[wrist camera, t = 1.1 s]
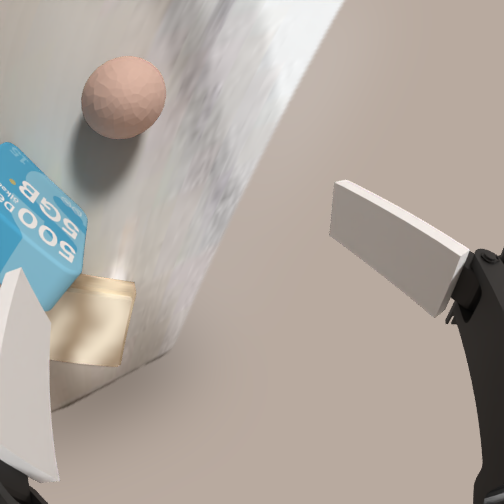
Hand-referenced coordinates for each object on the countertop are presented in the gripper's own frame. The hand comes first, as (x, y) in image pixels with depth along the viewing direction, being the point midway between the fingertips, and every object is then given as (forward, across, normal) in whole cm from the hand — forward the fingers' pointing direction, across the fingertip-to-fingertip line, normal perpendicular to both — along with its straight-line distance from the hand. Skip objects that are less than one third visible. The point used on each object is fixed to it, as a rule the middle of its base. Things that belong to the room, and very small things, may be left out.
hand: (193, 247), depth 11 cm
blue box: (+20, -11, -2) cm, 23 cm away
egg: (+20, -1, +5) cm, 21 cm away
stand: (+20, -13, -17) cm, 29 cm away
